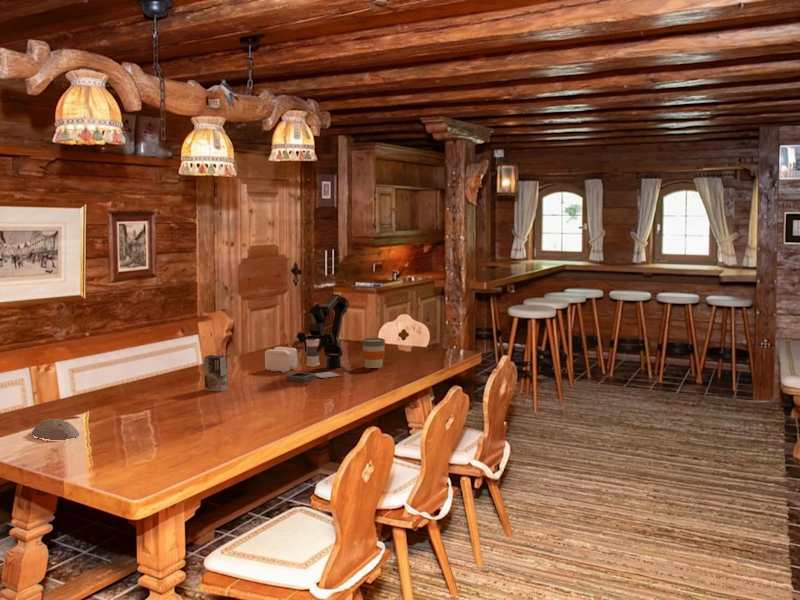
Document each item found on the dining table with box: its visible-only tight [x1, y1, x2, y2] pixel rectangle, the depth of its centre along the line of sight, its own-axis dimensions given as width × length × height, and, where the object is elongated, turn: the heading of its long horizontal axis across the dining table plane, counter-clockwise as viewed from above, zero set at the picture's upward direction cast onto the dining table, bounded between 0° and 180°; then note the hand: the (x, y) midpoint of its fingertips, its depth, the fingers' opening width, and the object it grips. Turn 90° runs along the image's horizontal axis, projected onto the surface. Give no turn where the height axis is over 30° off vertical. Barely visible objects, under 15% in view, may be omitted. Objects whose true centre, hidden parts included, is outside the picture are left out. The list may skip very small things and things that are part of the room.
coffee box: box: [203, 354, 229, 392], centre depth 368 cm, size 9×6×16 cm
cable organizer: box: [264, 346, 298, 373], centre depth 414 cm, size 15×11×12 cm
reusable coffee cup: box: [361, 337, 386, 369], centre depth 421 cm, size 13×13×15 cm
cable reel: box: [305, 338, 321, 367], centre depth 393 cm, size 7×7×13 cm
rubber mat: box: [314, 371, 341, 379], centre depth 400 cm, size 11×11×1 cm
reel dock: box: [285, 371, 316, 383], centre depth 390 cm, size 10×10×2 cm
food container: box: [31, 418, 80, 440], centre depth 294 cm, size 16×25×7 cm, turn 47°
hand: (311, 351), depth 391 cm, fingers closed on cable reel, 6 cm apart
